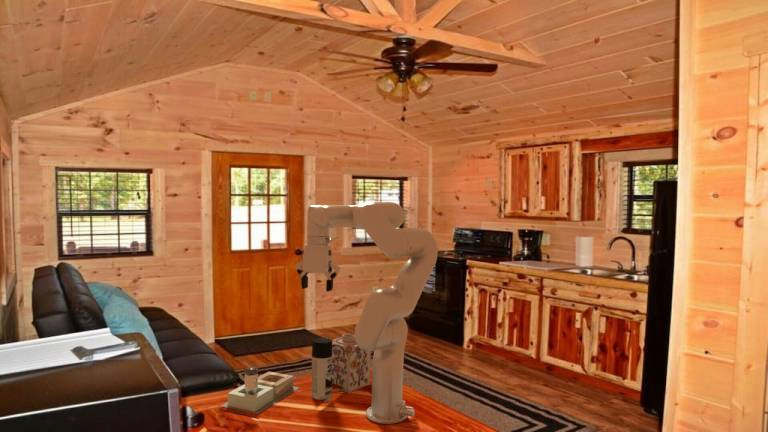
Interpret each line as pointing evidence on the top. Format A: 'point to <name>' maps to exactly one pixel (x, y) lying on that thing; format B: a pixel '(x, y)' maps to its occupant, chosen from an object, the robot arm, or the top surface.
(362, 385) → the decorative jar
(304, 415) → the top surface
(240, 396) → the sage dock
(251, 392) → the steel pin
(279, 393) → the maple mount
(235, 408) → the base board
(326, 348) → the spray can
